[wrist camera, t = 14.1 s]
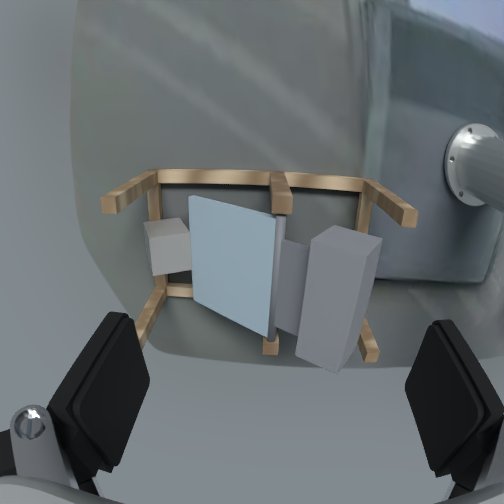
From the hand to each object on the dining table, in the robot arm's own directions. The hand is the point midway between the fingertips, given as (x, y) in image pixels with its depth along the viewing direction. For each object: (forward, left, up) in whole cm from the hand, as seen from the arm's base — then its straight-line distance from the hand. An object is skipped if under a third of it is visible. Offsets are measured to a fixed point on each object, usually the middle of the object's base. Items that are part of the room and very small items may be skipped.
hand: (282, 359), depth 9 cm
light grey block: (+11, +9, -26) cm, 30 cm away
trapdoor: (-2, +10, -25) cm, 27 cm away
